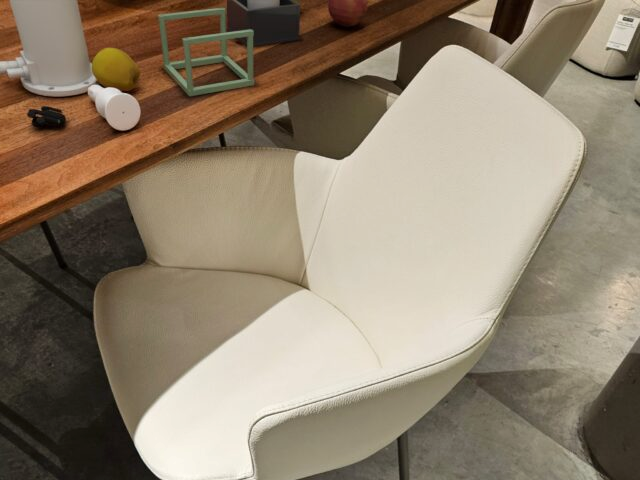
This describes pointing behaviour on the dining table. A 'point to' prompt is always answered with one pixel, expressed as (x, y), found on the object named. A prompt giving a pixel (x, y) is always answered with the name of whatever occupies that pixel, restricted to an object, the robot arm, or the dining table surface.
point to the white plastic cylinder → (115, 106)
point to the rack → (189, 63)
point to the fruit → (347, 11)
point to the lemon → (115, 69)
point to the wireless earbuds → (46, 117)
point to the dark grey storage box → (265, 21)
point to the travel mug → (262, 3)
